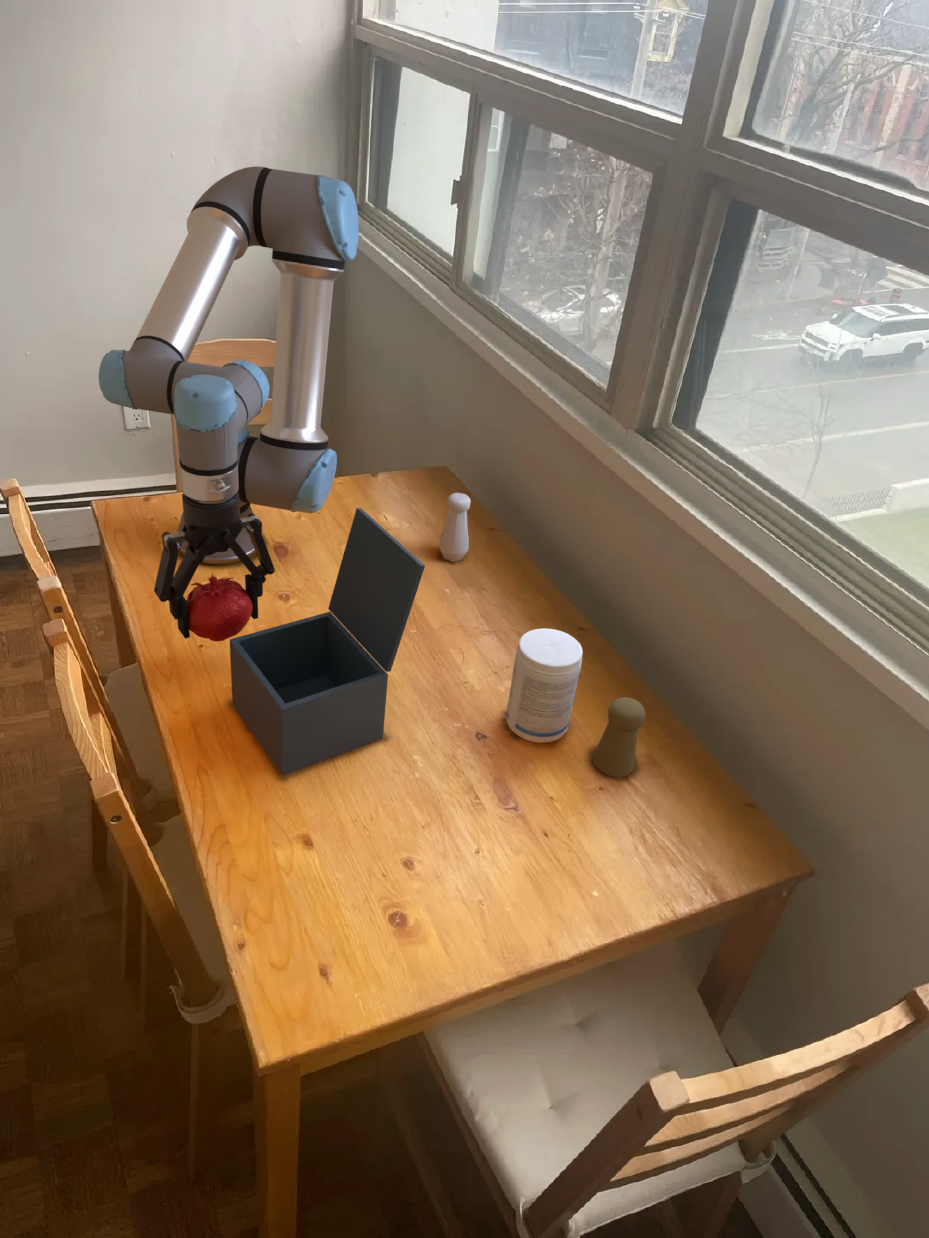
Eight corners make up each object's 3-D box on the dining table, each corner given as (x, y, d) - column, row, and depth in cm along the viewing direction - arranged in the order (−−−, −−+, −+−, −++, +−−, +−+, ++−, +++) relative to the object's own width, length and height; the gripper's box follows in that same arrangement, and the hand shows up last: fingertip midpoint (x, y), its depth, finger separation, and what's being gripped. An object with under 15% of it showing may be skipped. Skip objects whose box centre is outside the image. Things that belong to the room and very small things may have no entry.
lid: (420, 565, 116) (425, 565, 117) (356, 507, 127) (361, 508, 127) (385, 672, 123) (390, 671, 124) (327, 608, 134) (332, 608, 134)
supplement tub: (579, 733, 136) (598, 656, 128) (530, 753, 131) (546, 675, 123) (540, 696, 142) (556, 620, 134) (492, 714, 138) (505, 636, 129)
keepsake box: (282, 776, 122) (282, 709, 116) (232, 704, 133) (229, 639, 126) (383, 738, 131) (388, 674, 124) (328, 673, 141) (330, 611, 134)
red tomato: (266, 626, 138) (265, 575, 132) (217, 656, 130) (213, 604, 125) (220, 600, 142) (217, 550, 136) (169, 628, 134) (164, 576, 129)
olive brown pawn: (585, 751, 133) (600, 694, 127) (621, 744, 135) (637, 688, 129) (604, 780, 129) (620, 722, 122) (641, 772, 131) (658, 715, 124)
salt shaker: (471, 562, 173) (480, 502, 166) (444, 565, 171) (451, 505, 164) (460, 547, 178) (468, 487, 170) (433, 549, 176) (439, 490, 168)
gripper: (136, 522, 114) (152, 658, 127) (298, 488, 126) (298, 616, 139) (117, 495, 119) (134, 630, 132) (275, 465, 131) (277, 592, 144)
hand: (218, 623), depth 136 cm, fingers closed on red tomato, 10 cm apart
